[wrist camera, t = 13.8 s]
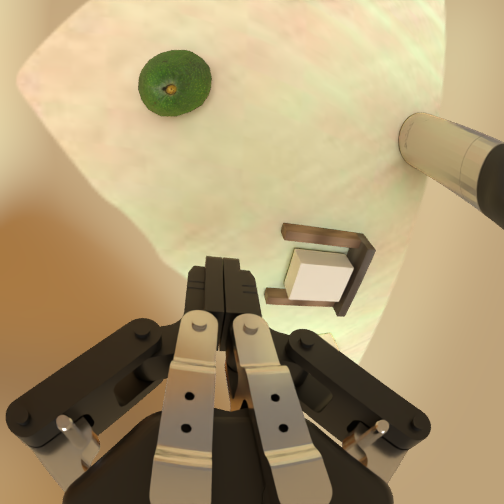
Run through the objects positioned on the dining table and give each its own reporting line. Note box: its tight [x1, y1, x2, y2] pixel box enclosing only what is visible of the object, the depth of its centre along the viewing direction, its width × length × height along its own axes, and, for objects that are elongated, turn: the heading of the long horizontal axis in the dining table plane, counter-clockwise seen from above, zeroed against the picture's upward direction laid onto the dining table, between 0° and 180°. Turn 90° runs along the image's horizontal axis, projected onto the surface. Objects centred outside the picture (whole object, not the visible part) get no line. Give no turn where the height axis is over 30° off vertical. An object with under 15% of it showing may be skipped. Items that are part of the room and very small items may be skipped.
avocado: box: [138, 50, 212, 116], centre depth 26 cm, size 8×8×12 cm
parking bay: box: [264, 223, 376, 316], centre depth 46 cm, size 14×14×5 cm
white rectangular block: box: [284, 249, 354, 302], centre depth 46 cm, size 9×7×5 cm
